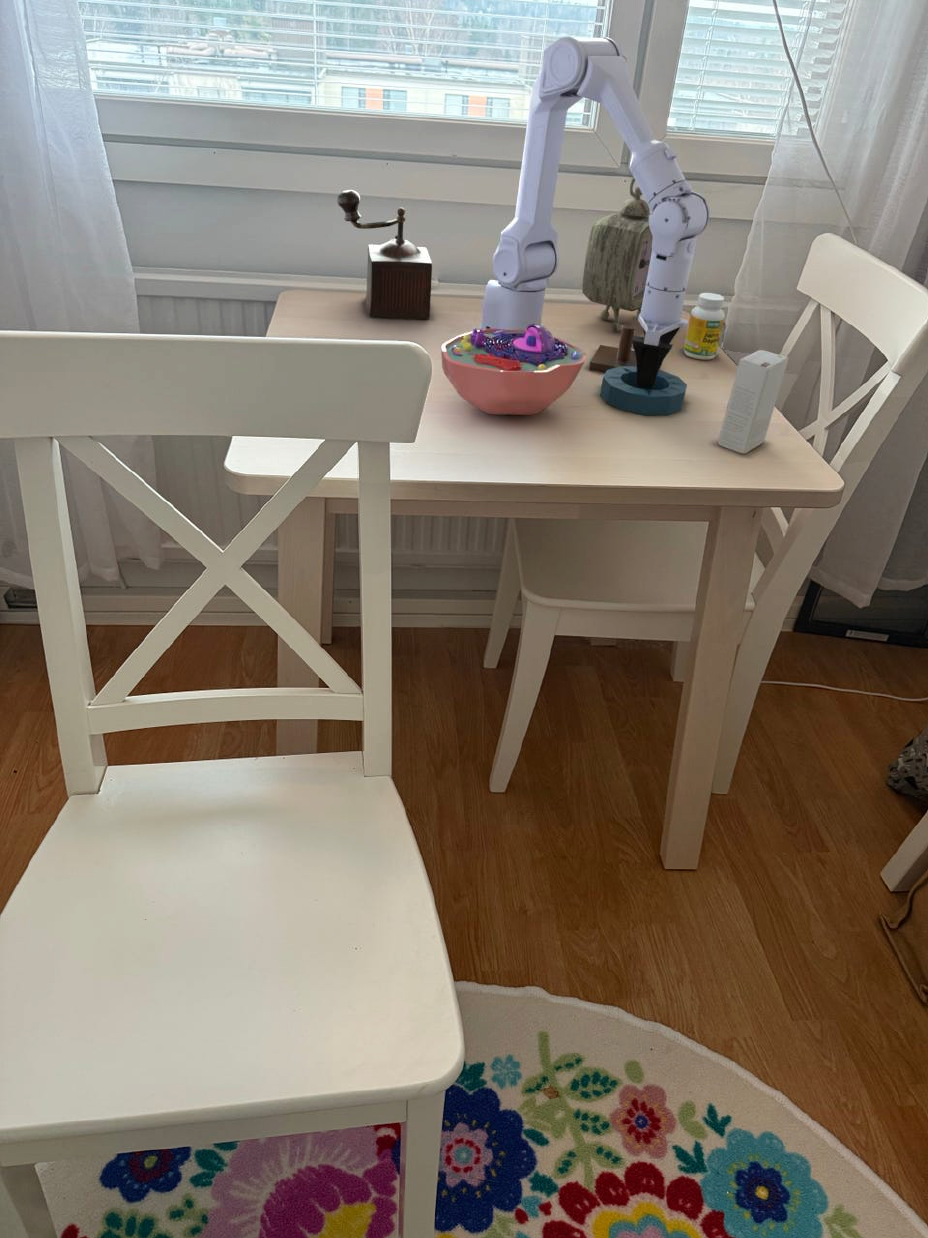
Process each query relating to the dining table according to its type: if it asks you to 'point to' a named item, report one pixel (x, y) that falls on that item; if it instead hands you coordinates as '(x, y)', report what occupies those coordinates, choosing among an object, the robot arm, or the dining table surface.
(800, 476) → the dining table surface
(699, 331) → the supplement bottle
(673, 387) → the ring
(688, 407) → the dining table surface
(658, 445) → the dining table surface
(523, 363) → the cell model
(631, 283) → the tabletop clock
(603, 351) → the peg stand
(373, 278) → the manual coffee grinder
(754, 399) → the cosmetic box
